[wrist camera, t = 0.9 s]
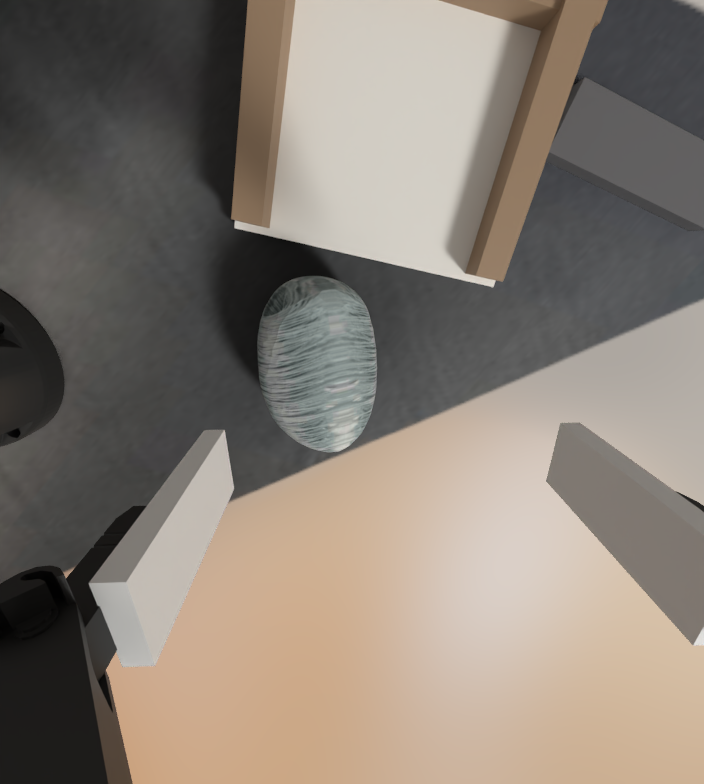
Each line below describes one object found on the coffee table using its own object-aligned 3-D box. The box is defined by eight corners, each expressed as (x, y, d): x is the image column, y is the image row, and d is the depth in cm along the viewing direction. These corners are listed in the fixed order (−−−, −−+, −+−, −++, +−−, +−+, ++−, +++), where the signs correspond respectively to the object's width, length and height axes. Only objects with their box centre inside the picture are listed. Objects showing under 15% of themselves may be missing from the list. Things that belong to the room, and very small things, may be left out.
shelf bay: (242, 229, 27) (222, 225, 23) (266, -50, 21) (246, -124, 17) (484, 285, 29) (506, 290, 25) (566, 40, 23) (614, -7, 19)
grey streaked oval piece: (231, 263, 25) (272, 317, 18) (348, 255, 29) (420, 297, 22) (251, 411, 33) (285, 488, 26) (341, 389, 37) (392, 451, 30)
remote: (684, 231, 28) (707, 229, 26) (534, 158, 26) (547, 151, 24) (723, 172, 27) (751, 166, 25) (567, 90, 25) (585, 77, 23)
